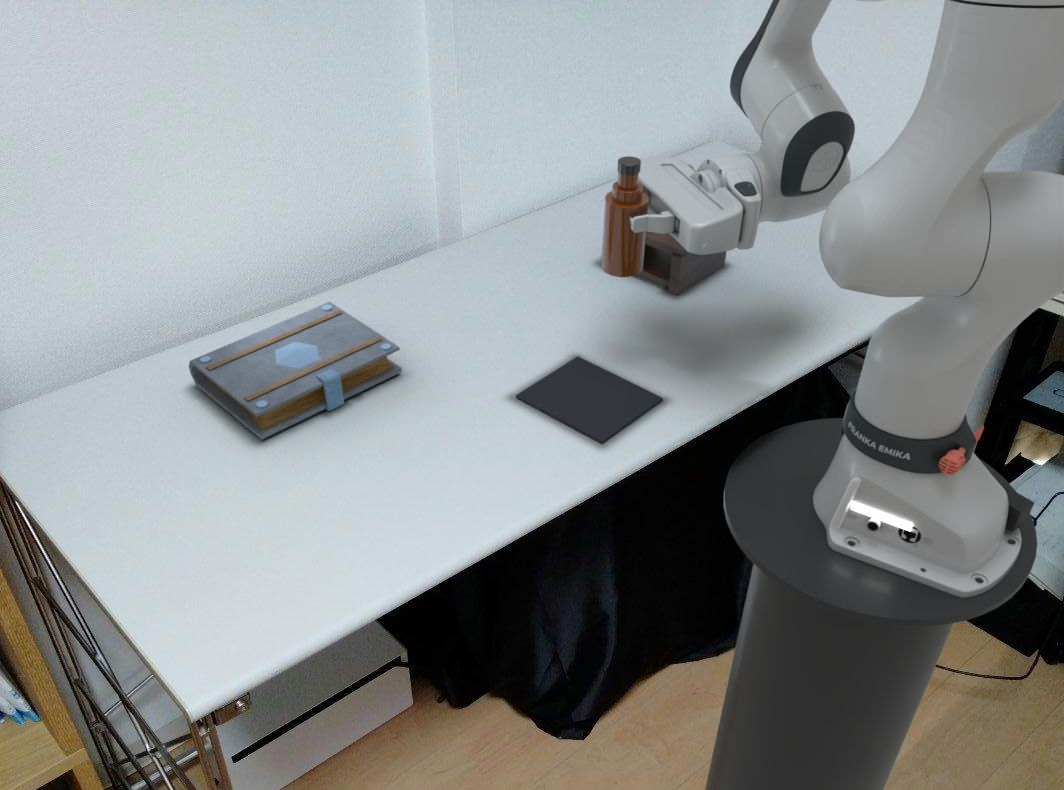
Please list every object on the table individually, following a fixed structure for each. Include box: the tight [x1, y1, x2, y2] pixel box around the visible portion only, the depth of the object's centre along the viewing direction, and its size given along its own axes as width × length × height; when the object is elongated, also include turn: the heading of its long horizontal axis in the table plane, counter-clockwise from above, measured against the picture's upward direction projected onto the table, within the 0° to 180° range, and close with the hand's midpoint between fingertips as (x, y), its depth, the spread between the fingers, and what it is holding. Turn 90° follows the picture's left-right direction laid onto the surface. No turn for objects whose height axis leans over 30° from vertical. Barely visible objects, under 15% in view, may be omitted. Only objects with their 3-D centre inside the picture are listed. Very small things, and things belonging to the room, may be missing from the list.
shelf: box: [600, 213, 728, 296], centre depth 153 cm, size 14×12×7 cm
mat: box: [515, 356, 664, 445], centre depth 130 cm, size 14×12×1 cm
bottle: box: [600, 155, 649, 278], centre depth 125 cm, size 5×5×14 cm
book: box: [188, 301, 403, 440], centre depth 131 cm, size 21×16×5 cm
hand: (619, 212), depth 124 cm, fingers closed on bottle, 5 cm apart
